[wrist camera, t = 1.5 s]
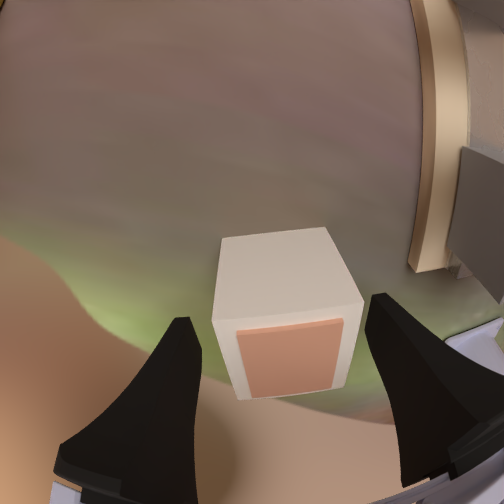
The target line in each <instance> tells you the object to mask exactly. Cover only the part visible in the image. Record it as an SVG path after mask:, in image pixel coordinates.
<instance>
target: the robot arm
mask: <svg viewBox="0 0 504 504" xmlns="http://www.w3.org/2000/svg"><path fill="white" fill-rule="evenodd" d="M503 322H504V320H503V318H502V317H501V318H498V319H496V320H494V321H491V322H489V323H487V324H484V325H482V326H479V327H477V328H474V329H472V330H469V331H466V332H464V333H461V334H458V335H455V336H453V337H450V338H448V339H447V340H446V341H445V342H443V341H442V340H441V339H439V338H438V337H437V336H436V335H434V334H433V333H432V332H431V331H429V330H428V329H427V328H426V327H424V326H423V325H422V324H421V323H420V322H419V321H417V320H416V319H415V318H414V317H413V316H412V315H411V314H409V313H408V312H407V311H406V310H405V309H404V308H403V307H401V306H400V305H399V304H398V303H397V302H396V301H395V300H394V299H392V298H391V297H390V296H389V295H388V294H387V293H380V294H374V295H372V297H371V302H370V307H369V312H368V316H367V321H366V325H365V329H364V330H365V334H366V338H367V341H368V345H369V348H370V351H371V354H372V356H373V359H374V361H375V364H376V366H377V369H378V371H379V374H380V376H381V379H382V381H383V384H384V386H385V389H386V391H387V394H388V397H389V400H390V404H391V408H392V412H393V417H394V421H395V426H396V431H397V437H398V445H399V453H400V467H401V483H402V487H403V488H405V487H407V486H410V485H412V484H415V483H417V482H419V481H421V480H424V479H426V478H428V477H429V478H430V481H428V482H426V483H424V484H421V485H419V486H417V487H414V488H412V489H409V490H407V491H404V492H402V493H399V494H396V495H394V496H391V497H388V498H385V499H382V500H379V501H376V502H373V503H369V504H412V503H414V502H416V501H417V502H416V504H504V354H503V352H502V351H501V349H500V347H499V346H498V344H497V343H496V341H495V340H494V337H495V336H496V334H497V332H498V331H499V329H500V327H501V325H502V324H503ZM201 370H202V348H201V346H200V343H199V341H198V338H197V335H196V333H195V330H194V327H193V325H192V322H191V319H190V317H179V318H174V320H173V321H172V323H171V324H170V326H169V327H168V329H167V331H166V332H165V334H164V335H163V337H162V339H161V340H160V342H159V343H158V345H157V346H156V348H155V349H154V351H153V352H152V354H151V355H150V357H149V358H148V360H147V361H146V363H145V364H144V366H143V367H142V368H141V370H140V371H139V372H138V374H137V375H136V377H135V378H134V379H133V380H132V381H131V383H130V384H129V385H128V387H127V388H126V389H125V390H124V391H123V392H122V393H121V394H120V396H119V397H118V398H117V399H116V400H115V401H114V402H113V403H112V404H111V405H110V406H109V407H108V408H107V409H106V410H105V411H104V412H103V413H102V414H101V415H100V416H98V417H97V418H96V419H95V420H94V421H92V422H91V423H90V424H89V425H88V426H87V427H85V428H84V429H83V430H81V431H80V432H79V433H77V434H76V435H74V436H73V437H71V438H70V439H68V440H67V441H65V442H64V443H62V444H60V447H59V451H58V454H57V458H56V462H55V466H54V470H53V472H54V473H55V474H56V475H57V476H59V477H61V478H64V479H66V480H67V481H70V482H72V483H74V484H77V485H79V486H81V487H82V492H80V491H77V490H75V489H72V488H70V487H68V486H65V485H63V484H61V483H59V482H56V481H54V482H53V487H52V492H51V497H50V503H49V504H198V498H197V490H196V481H195V480H196V479H195V463H194V424H195V414H196V406H197V400H198V392H199V386H200V379H201Z"/></svg>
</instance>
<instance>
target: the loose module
mask: <svg viewBox="0 0 504 504" xmlns="http://www.w3.org/2000/svg"><path fill="white" fill-rule="evenodd" d="M363 306H364V301H363V298H362V296H361V294H360V292H359V290H358V288H357V286H356V284H355V282H354V280H353V278H352V276H351V274H350V273H349V271H348V269H347V267H346V265H345V263H344V261H343V259H342V257H341V255H340V253H339V252H338V250H337V248H336V246H335V244H334V242H333V241H332V239H331V237H330V235H329V233H328V232H327V230H326V228H325V227H319V228H310V229H300V230H291V231H281V232H272V233H263V234H254V235H245V236H237V237H228V238H222V243H221V250H220V258H219V265H218V273H217V281H216V289H215V297H214V305H213V314H212V323H213V327H214V330H215V333H216V336H217V340H218V343H219V346H220V349H221V352H222V355H223V358H224V361H225V364H226V367H227V370H228V373H229V376H230V379H231V382H232V385H233V388H234V391H235V394H236V396H237V399H238V400H253V399H265V398H275V397H284V396H293V395H300V394H307V393H314V392H320V391H326V390H332V389H337V388H342V387H344V385H345V381H346V378H347V374H348V371H349V367H350V363H351V359H352V356H353V352H354V348H355V343H356V339H357V335H358V330H359V326H360V321H361V316H362V311H363Z"/></svg>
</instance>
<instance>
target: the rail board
mask: <svg viewBox="0 0 504 504" xmlns="http://www.w3.org/2000/svg"><path fill="white" fill-rule="evenodd" d="M410 3H411V7H412V12H413V17H414V22H415V28H416V34H417V40H418V48H419V56H420V65H421V77H422V93H423V149H422V166H421V178H420V188H419V197H418V205H417V212H416V219H415V225H414V231H413V237H412V242H411V248H410V253H409V257H408V263H409V264H410V266H411V267H412V268H413V270H414V271H415V272H416V273H418V272H423V271H429V270H434V269H439V268H445V269H446V270H447V269H448V270H449V271H450V272H451V273H452V275H453V276H454V277H455V278H456V279H460V278H464V277H468V276H472V275H475V277H476V278H477V279H478V280H479V281H480V282H481V283H482V284H483V286H484V287H485V288H486V289H487V290H488V292H489V293H490V294H491V295H492V296H493V298H494V299H495V300H496V301H497V302H498V304H499V305H500V304H502V303H504V0H410Z"/></svg>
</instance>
